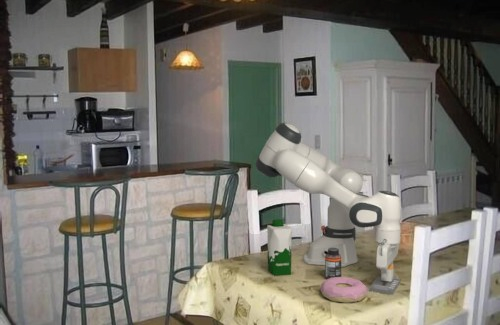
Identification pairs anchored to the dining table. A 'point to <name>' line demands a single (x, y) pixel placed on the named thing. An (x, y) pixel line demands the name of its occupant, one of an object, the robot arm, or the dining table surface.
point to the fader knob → (389, 273)
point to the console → (384, 285)
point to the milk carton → (279, 248)
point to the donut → (343, 289)
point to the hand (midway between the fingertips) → (386, 274)
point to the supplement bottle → (332, 263)
